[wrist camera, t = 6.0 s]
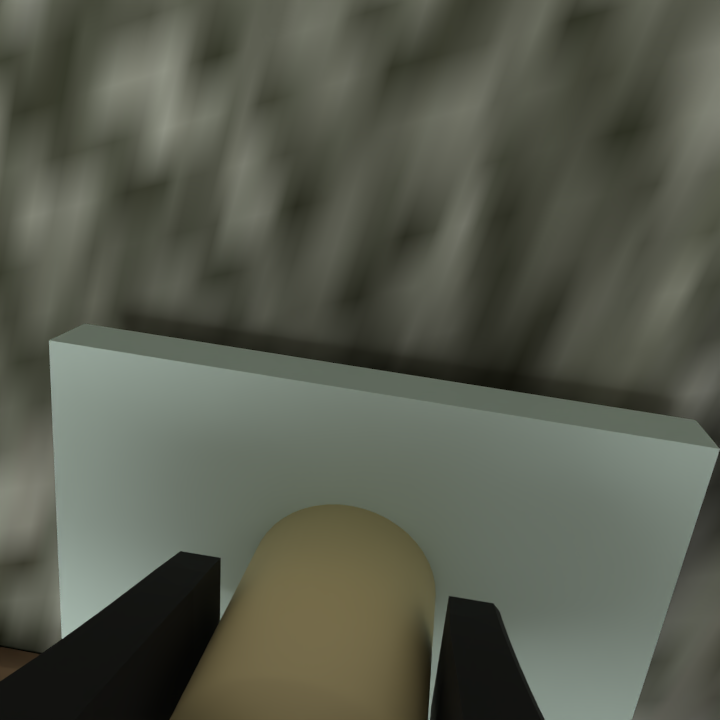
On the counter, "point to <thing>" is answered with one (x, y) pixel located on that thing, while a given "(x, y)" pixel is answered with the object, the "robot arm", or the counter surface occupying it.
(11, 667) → the box
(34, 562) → the counter surface
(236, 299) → the counter surface
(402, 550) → the lid
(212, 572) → the robot arm
